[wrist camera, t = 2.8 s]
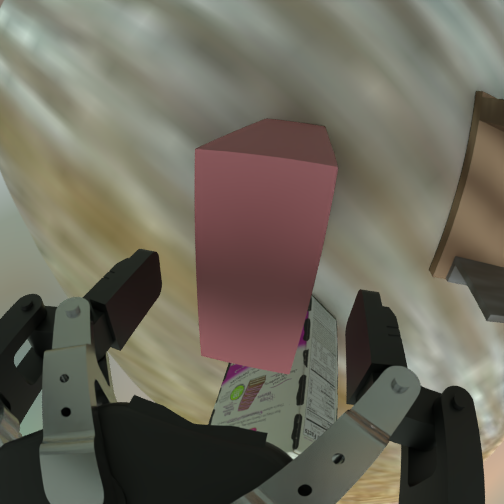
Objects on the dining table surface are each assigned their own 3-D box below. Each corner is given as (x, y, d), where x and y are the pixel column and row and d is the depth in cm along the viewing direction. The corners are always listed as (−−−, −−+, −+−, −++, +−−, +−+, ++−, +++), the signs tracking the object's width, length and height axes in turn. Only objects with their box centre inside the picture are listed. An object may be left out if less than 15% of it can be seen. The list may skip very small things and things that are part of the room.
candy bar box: (265, 360, 34) (233, 483, 20) (236, 337, 33) (189, 464, 19) (341, 319, 29) (336, 473, 15) (310, 290, 28) (290, 454, 14)
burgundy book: (266, 118, 21) (195, 149, 9) (324, 126, 20) (338, 167, 8) (255, 233, 26) (201, 355, 14) (306, 241, 25) (289, 374, 13)
